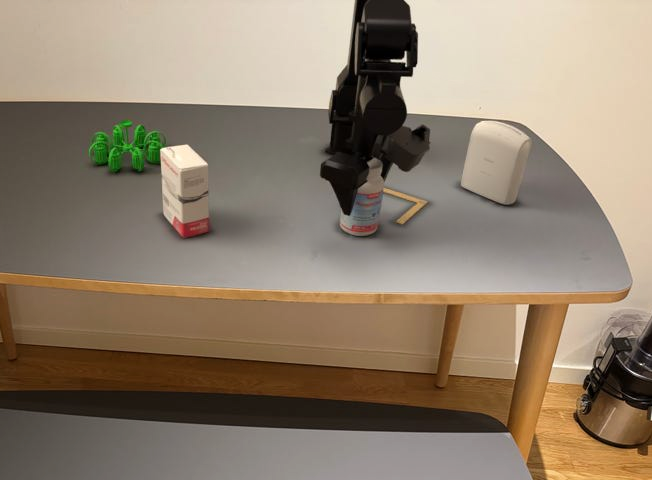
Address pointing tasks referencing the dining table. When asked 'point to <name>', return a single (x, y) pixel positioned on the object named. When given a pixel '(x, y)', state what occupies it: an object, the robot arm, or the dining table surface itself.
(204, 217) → the ink box
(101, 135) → the chandelier
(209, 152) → the dining table surface
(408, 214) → the tape outline
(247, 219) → the dining table surface
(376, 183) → the pill bottle
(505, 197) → the photo printer
